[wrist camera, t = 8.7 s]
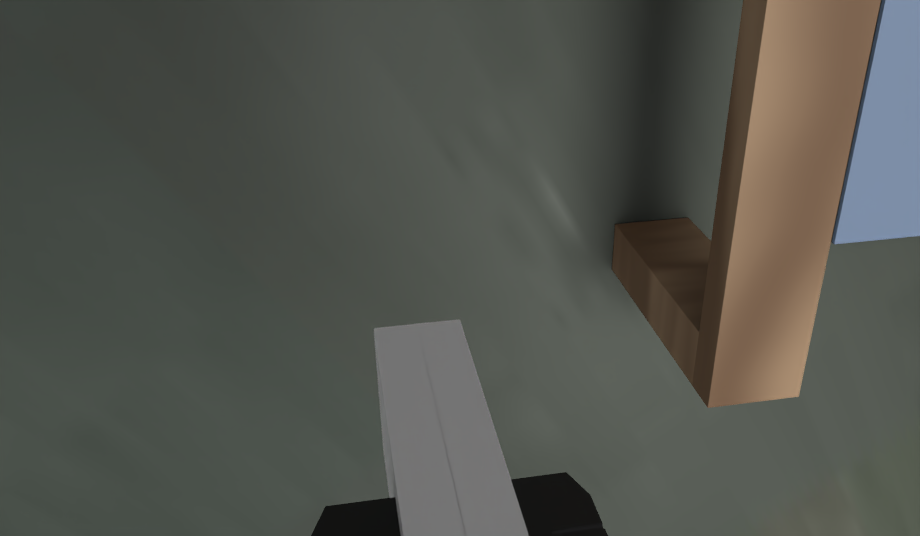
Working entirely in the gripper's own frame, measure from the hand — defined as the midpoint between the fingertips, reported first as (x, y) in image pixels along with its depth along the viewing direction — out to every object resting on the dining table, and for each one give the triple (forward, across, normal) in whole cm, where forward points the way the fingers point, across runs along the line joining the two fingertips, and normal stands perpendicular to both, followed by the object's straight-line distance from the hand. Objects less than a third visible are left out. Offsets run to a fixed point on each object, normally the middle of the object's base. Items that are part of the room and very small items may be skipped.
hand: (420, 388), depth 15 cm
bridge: (+16, +11, 0) cm, 20 cm away
